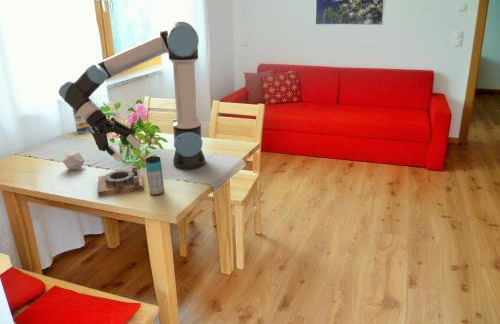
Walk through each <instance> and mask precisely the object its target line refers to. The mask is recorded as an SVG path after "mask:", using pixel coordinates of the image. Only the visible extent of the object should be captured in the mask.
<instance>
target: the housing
mask: <svg viewBox="0 0 500 324" xmlns="http://www.w3.org/2000/svg"><path fill="white" fill-rule="evenodd" d="M142 177H143V176H142V172H141V170H138V167H137V166H132V167H131V170H129V169H119V170H114V171H111V172H109V173H107V174H105V175H98V177H97V178H98V179H97V196H98V197H105V196H109V195H117V194H123V193H130V192H137V191H142V190H144V183H143V178H142Z"/></svg>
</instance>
